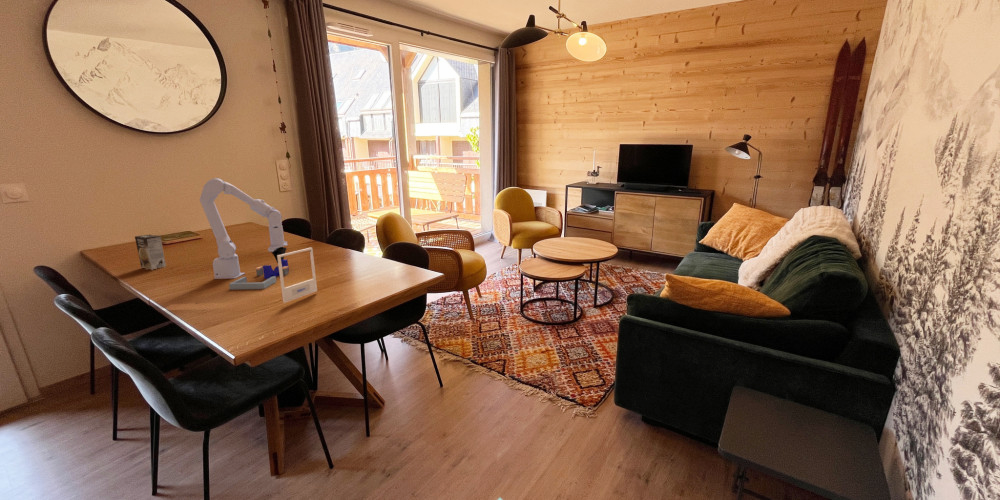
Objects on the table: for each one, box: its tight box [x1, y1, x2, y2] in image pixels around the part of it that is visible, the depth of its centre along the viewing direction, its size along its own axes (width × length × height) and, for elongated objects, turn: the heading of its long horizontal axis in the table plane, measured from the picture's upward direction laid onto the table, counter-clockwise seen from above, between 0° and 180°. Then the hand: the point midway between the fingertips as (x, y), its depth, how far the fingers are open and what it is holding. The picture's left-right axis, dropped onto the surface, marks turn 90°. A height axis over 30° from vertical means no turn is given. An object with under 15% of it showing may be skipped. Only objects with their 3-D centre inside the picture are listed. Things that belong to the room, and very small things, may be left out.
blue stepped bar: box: [262, 259, 290, 280], centre depth 184 cm, size 12×4×6 cm, turn 169°
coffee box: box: [134, 234, 167, 271], centre depth 195 cm, size 9×6×16 cm
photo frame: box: [277, 247, 318, 304], centre depth 153 cm, size 15×1×18 cm, turn 155°
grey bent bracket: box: [228, 276, 277, 291], centre depth 169 cm, size 14×10×2 cm
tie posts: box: [255, 265, 290, 277], centre depth 184 cm, size 13×3×4 cm, turn 93°
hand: (280, 263), depth 192 cm, fingers closed
